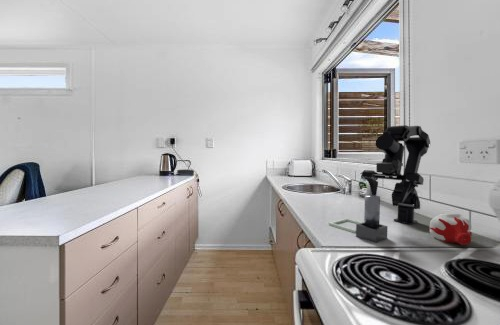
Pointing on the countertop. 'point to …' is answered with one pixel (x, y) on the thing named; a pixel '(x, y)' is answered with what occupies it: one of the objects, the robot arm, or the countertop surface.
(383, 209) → the countertop surface
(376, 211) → the grey cylinder in socket
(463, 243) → the white red flame ovoid
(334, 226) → the tray
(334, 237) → the countertop surface
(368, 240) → the base
